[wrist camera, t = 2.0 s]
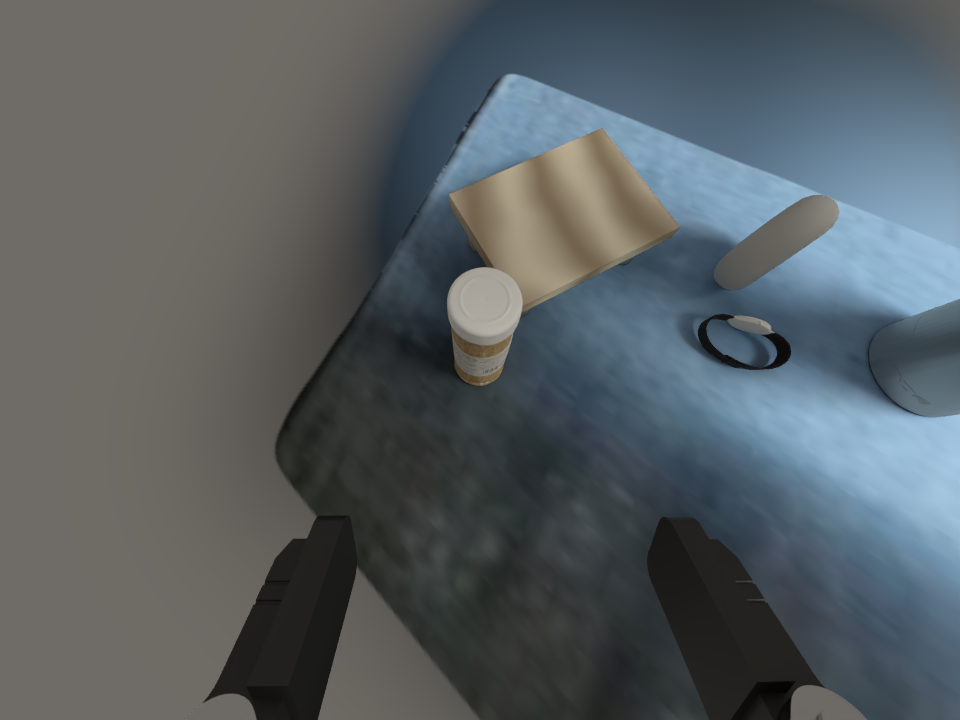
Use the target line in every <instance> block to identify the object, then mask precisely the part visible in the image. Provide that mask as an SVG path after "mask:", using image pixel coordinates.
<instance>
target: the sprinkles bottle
mask: <svg viewBox="0 0 960 720" xmlns="http://www.w3.org/2000/svg"><path fill="white" fill-rule="evenodd" d="M522 306H523V299H522V294H521V291H520V289H519V287H518V285H517V284H516V282H515V281H514V280H513V279H512V278H511V277H510V276H509V275H508V274H506V273H504V272H502V271H500V270H498V269H494V268H488V267H481V268H475V269H471V270H469V271H467V272H465V273H463V274H462V275H460V276H459V277H458V278H457V279H456V280H455V281H454V283H453V284H452V286H451V288H450V290H449V293H448V297H447V310H448V318H449V322H450V324H451V326H452V339H453V350H454V357H455V359H454V361H455V363H454V365H455V369H456V371H457V373H458V375H459V376H460V378H461V379H463V380H464V381H465V382H467V383H469V384H471V385H476V386H482V385H486V384H489V383H491V382H493V381H495V380H496V379H497V378H498V377H499V375H500V374H501V372H502V369H503V367H504V362H505V359H506V356H507V353H508V350H509V347H510V344H511V340H512V337H513V332H514V330H515V329H516V327H517V325H518V323H519V319H520V316H521V312H522Z"/></svg>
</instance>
